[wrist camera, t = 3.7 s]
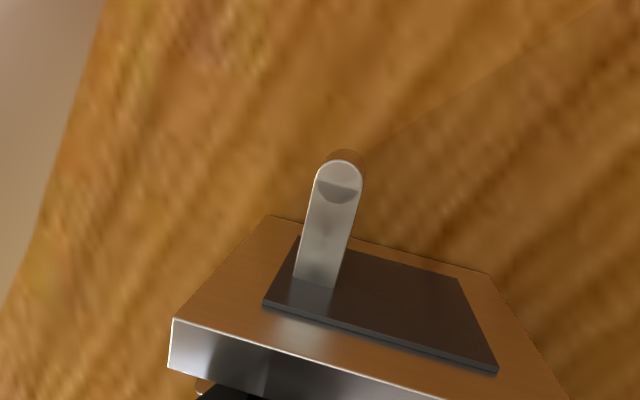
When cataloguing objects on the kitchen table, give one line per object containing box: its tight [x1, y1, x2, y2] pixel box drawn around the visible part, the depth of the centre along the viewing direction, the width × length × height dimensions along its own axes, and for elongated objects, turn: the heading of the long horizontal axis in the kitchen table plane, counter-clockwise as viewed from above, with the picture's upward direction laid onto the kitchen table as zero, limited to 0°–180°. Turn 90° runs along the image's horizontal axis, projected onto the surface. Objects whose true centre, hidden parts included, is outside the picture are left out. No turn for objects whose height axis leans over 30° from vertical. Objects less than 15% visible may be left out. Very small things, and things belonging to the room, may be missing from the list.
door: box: [167, 149, 570, 400], centre depth 11 cm, size 6×10×8 cm, turn 77°
